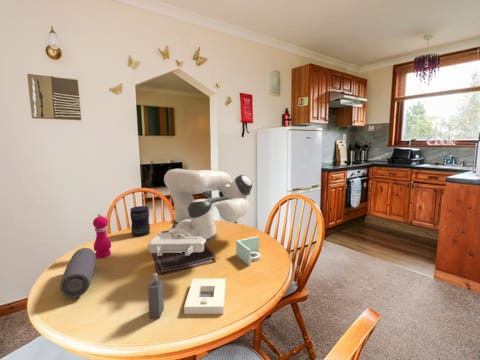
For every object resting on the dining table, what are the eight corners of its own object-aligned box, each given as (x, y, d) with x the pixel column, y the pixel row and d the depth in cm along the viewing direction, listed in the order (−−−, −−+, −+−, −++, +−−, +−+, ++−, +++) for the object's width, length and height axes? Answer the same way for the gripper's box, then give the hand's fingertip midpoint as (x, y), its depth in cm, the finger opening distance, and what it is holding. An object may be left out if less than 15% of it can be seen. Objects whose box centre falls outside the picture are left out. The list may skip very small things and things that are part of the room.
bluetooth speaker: (72, 271, 103) (69, 248, 102) (98, 267, 107) (96, 244, 106) (59, 304, 83) (56, 275, 81) (92, 297, 87) (89, 269, 85)
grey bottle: (154, 308, 81) (152, 270, 79) (163, 308, 81) (162, 270, 79) (149, 318, 76) (147, 278, 74) (159, 318, 76) (157, 278, 74)
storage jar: (146, 237, 141) (144, 210, 138) (128, 236, 141) (126, 210, 138) (152, 230, 150) (151, 206, 148) (136, 230, 151) (134, 206, 148)
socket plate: (193, 284, 94) (192, 277, 94) (225, 284, 94) (225, 277, 94) (184, 314, 78) (184, 304, 78) (223, 313, 78) (223, 304, 78)
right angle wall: (249, 266, 109) (249, 250, 108) (236, 255, 119) (236, 240, 118) (272, 260, 114) (272, 245, 113) (257, 250, 125) (258, 236, 124)
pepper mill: (98, 252, 122) (95, 211, 118) (114, 251, 122) (111, 211, 119) (91, 259, 114) (87, 216, 111) (108, 258, 115) (104, 215, 112)
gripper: (206, 246, 103) (203, 261, 89) (155, 247, 102) (143, 263, 88) (206, 231, 102) (203, 244, 88) (154, 231, 101) (143, 245, 87)
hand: (173, 253), depth 88 cm, fingers open, 8 cm apart
